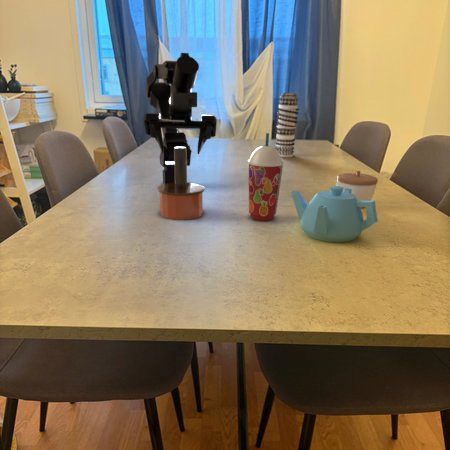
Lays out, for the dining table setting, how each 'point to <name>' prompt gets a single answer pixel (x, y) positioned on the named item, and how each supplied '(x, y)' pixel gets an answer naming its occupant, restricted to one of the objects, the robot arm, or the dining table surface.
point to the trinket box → (358, 184)
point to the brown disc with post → (180, 177)
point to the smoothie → (264, 182)
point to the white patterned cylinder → (286, 124)
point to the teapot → (334, 215)
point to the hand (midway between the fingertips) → (180, 152)
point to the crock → (181, 206)
